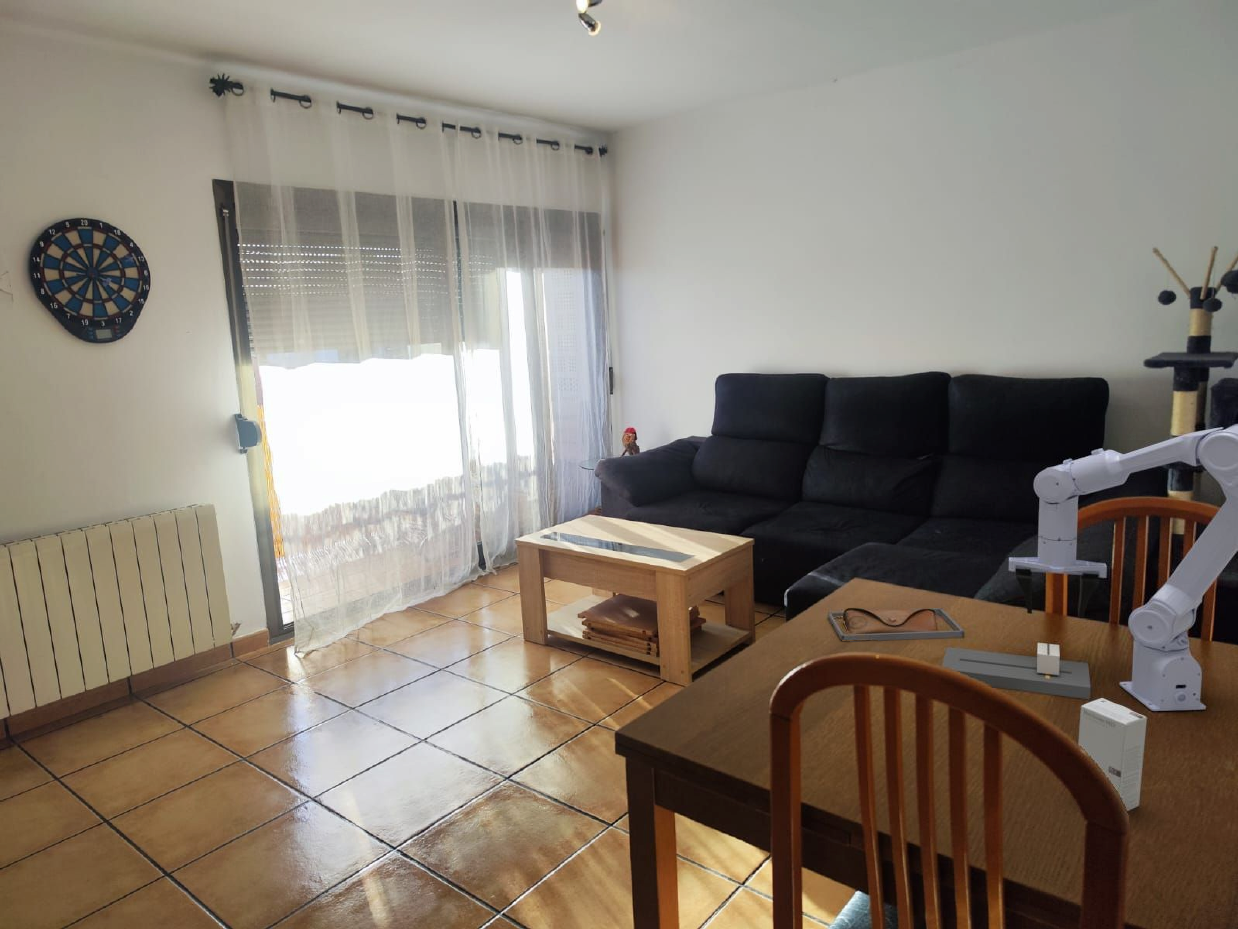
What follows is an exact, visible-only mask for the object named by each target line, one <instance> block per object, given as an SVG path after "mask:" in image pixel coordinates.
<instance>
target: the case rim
mask: <svg viewBox="0 0 1238 929" xmlns="http://www.w3.org/2000/svg"><path fill="white" fill-rule="evenodd" d="M908 609H909V610H918V609H919V608H908ZM930 609H932V610H934V611H935V616H937V615H940V616H941V618H942V619H943V620H944V621H945V622H946V623H947V624H948V625H949V626H950V627H951V628H952V630H938V631H932V632H905V633H878V634H851V635H848V634H844V633H843V632H842V630H841V628H840V626H839V624H838V622H837V621H836V619H834V618H833V617H837V616H843V614H844V611H835V612H833V611H832V612H831V611H830V612H827V619H828V618H829V619H830V620H829V619H828V620H829V622H830V621H831V622H830V624H831V623H832V624H833V626H834V628H835V629H834V628H833V629H834V631H835V630H836V631H837V633H838V635H839V636H838V635H837V636H838V638H839V637H840V638H841V640H857V639H858V640H859V639H866V640H867V639H868V640H871V639H872V640H878V641H894V640H895V641H899V640H900V641H902V640H903V641H904V640H928V639H952V638H954V639H956V638H959V639H960V638H965V630H964V629H963V628H962V627H961V626H960V625H959V624H958V623H957V622H956V621H955V620H954V619H953V618H952V617H951V616H950V615H949V614H948V612H946V611H945V610H944V609H943V608H941V607H937V608H935V607H934V608H932V607H931V608H930ZM832 624H831V625H832ZM833 626H832V627H833ZM836 631H835V632H836ZM837 633H836V634H837ZM840 638H839V639H840ZM841 640H840V641H841Z"/></svg>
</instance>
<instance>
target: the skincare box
mask: <svg viewBox="0 0 1238 929" xmlns="http://www.w3.org/2000/svg"><path fill="white" fill-rule="evenodd" d="M1147 721H1148V717H1147V716H1145V715H1143V714H1140V713H1138V712H1135V711H1133V710H1132V709H1130V708H1128V707H1126V706H1123V705H1121V704H1118V703H1114V702H1113V701H1111V700H1108V699H1106V698H1103V697H1101V698H1098V699H1094V700H1092V701H1089V702H1087V703H1085V704H1083V705H1081V706H1080V718H1079V727H1078V728H1079V730H1078V744H1077V745H1079V746H1081V747H1082V748H1083V749H1085V751H1086V752H1087V753H1088V755H1089V756H1091V758H1092V759H1093V760H1094V761H1095V763H1097V764H1098V766H1099V767H1100V768H1101V769H1102V771H1103V772H1104V773H1105V775H1106V777H1108V778H1109V780H1110V781H1111V783H1112V784H1113V786H1114V787H1115V789H1116V790H1117V791H1118V793H1119V795H1120V797H1121V798H1122V801H1123V803H1124V804H1125V806H1126V809H1127V812H1129V811H1131V810H1133V809H1135V808H1137V807H1139V805H1140V797H1141V785H1142V774H1143V765H1144V752H1145V741H1146V731H1147Z"/></svg>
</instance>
